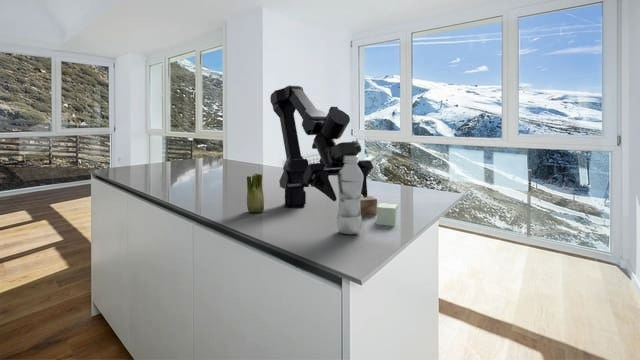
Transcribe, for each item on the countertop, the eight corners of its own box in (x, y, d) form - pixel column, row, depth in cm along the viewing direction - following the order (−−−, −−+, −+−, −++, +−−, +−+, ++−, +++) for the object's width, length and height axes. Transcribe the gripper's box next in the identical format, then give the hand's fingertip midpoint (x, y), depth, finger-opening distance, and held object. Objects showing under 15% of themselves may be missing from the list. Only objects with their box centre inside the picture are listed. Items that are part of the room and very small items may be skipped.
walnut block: (361, 216, 109) (361, 200, 109) (355, 212, 114) (355, 196, 113) (376, 215, 111) (377, 199, 110) (370, 211, 115) (370, 195, 115)
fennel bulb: (248, 214, 110) (247, 175, 108) (244, 211, 114) (243, 173, 112) (266, 213, 112) (266, 174, 110) (262, 209, 117) (261, 172, 114)
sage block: (376, 224, 101) (376, 207, 100) (378, 219, 106) (379, 203, 105) (394, 226, 100) (395, 208, 99) (396, 221, 105) (397, 204, 104)
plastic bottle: (343, 227, 98) (345, 153, 94) (366, 232, 94) (368, 155, 91) (330, 234, 92) (331, 155, 89) (354, 239, 89) (356, 157, 85)
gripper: (308, 130, 88) (330, 182, 81) (370, 129, 97) (396, 176, 90) (294, 159, 97) (314, 209, 89) (353, 156, 105) (375, 201, 98)
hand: (351, 198), depth 91 cm, fingers open, 9 cm apart
